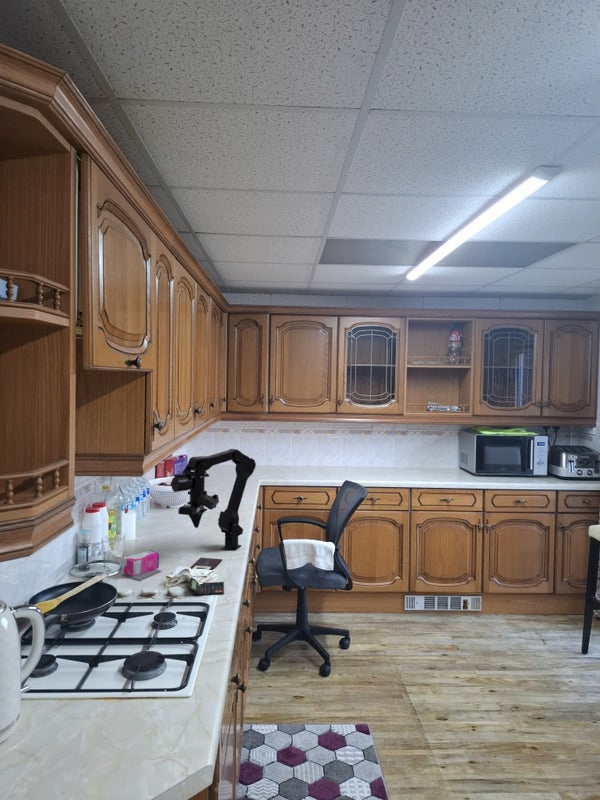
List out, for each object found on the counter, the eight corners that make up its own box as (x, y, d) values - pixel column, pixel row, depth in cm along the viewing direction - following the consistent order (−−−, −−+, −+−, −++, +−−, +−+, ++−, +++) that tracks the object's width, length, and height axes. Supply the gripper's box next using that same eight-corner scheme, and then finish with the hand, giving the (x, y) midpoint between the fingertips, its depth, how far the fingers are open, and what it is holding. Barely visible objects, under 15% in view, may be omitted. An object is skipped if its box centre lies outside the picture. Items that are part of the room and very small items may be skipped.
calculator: (223, 595, 159) (223, 586, 159) (187, 597, 158) (187, 588, 158) (223, 584, 169) (223, 575, 169) (189, 585, 167) (189, 577, 167)
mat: (142, 567, 182) (142, 566, 182) (160, 571, 178) (160, 570, 178) (121, 576, 174) (121, 574, 174) (140, 580, 169) (140, 579, 169)
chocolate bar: (222, 559, 192) (206, 576, 174) (222, 561, 192) (206, 578, 174) (200, 557, 193) (182, 574, 175) (200, 560, 193) (182, 576, 175)
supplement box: (149, 565, 184) (122, 572, 175) (150, 549, 184) (122, 556, 175) (158, 569, 180) (131, 577, 172) (159, 553, 180) (131, 560, 172)
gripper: (203, 494, 183) (203, 536, 183) (225, 486, 201) (225, 523, 201) (177, 492, 186) (177, 533, 186) (201, 484, 204) (201, 521, 204)
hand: (196, 527), depth 194 cm, fingers closed
